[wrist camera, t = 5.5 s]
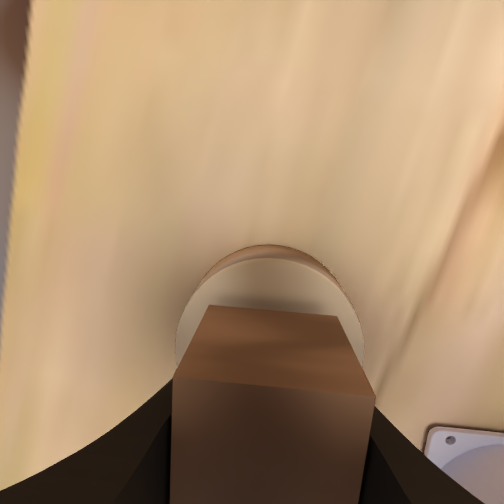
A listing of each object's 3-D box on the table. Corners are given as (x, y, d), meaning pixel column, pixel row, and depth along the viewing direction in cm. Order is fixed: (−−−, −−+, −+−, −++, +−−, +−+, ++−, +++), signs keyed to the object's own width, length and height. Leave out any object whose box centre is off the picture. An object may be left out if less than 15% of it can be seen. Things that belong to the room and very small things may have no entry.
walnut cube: (337, 316, 12) (375, 396, 7) (322, 427, 13) (348, 557, 8) (208, 304, 12) (172, 377, 8) (203, 415, 13) (168, 536, 9)
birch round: (361, 255, 17) (384, 275, 13) (331, 397, 19) (345, 448, 15) (199, 233, 17) (181, 247, 14) (186, 376, 19) (167, 421, 15)
